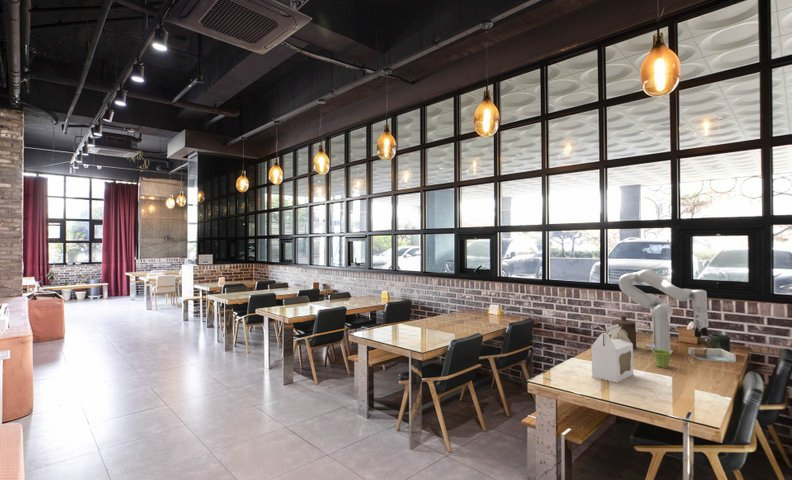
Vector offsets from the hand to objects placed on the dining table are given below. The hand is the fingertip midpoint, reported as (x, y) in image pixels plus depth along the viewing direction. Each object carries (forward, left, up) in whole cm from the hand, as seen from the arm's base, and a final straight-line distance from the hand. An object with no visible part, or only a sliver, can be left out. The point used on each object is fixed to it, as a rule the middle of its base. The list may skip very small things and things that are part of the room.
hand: (701, 336), depth 258 cm
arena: (+5, -1, -14) cm, 15 cm away
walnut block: (0, 0, -13) cm, 13 cm away
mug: (+16, +15, -14) cm, 26 cm away
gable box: (-66, -48, -14) cm, 83 cm away
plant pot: (-32, -24, -14) cm, 42 cm away
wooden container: (-38, +23, -14) cm, 47 cm away
